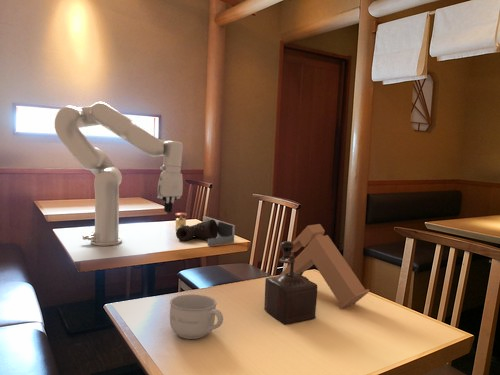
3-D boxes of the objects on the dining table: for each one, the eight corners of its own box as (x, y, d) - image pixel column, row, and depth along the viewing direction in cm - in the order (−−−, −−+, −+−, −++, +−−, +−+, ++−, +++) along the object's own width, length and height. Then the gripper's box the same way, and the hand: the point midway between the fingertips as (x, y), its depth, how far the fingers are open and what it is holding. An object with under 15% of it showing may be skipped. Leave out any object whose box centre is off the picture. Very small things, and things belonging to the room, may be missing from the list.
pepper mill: (318, 318, 108) (323, 252, 106) (284, 325, 103) (288, 256, 101) (285, 297, 122) (289, 238, 120) (253, 303, 116) (257, 241, 114)
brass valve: (178, 232, 200) (179, 214, 200) (172, 230, 205) (173, 213, 204) (188, 231, 204) (188, 214, 203) (182, 229, 208) (183, 212, 207)
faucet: (323, 329, 129) (284, 263, 141) (369, 291, 116) (322, 222, 128) (308, 335, 125) (269, 266, 137) (355, 296, 111) (307, 224, 124)
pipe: (173, 223, 183) (204, 221, 179) (188, 220, 198) (216, 218, 194) (176, 245, 183) (206, 243, 179) (190, 240, 198) (218, 238, 194)
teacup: (160, 331, 96) (161, 298, 95) (196, 319, 104) (198, 288, 103) (195, 355, 86) (197, 318, 86) (233, 339, 94) (235, 306, 93)
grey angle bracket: (209, 246, 177) (209, 228, 176) (180, 234, 196) (181, 218, 195) (235, 242, 186) (235, 225, 185) (205, 231, 205) (206, 216, 204)
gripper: (160, 170, 167) (156, 213, 169) (191, 171, 177) (187, 213, 179) (151, 168, 173) (147, 210, 175) (182, 169, 182) (178, 210, 184)
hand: (167, 211), depth 177 cm, fingers closed
